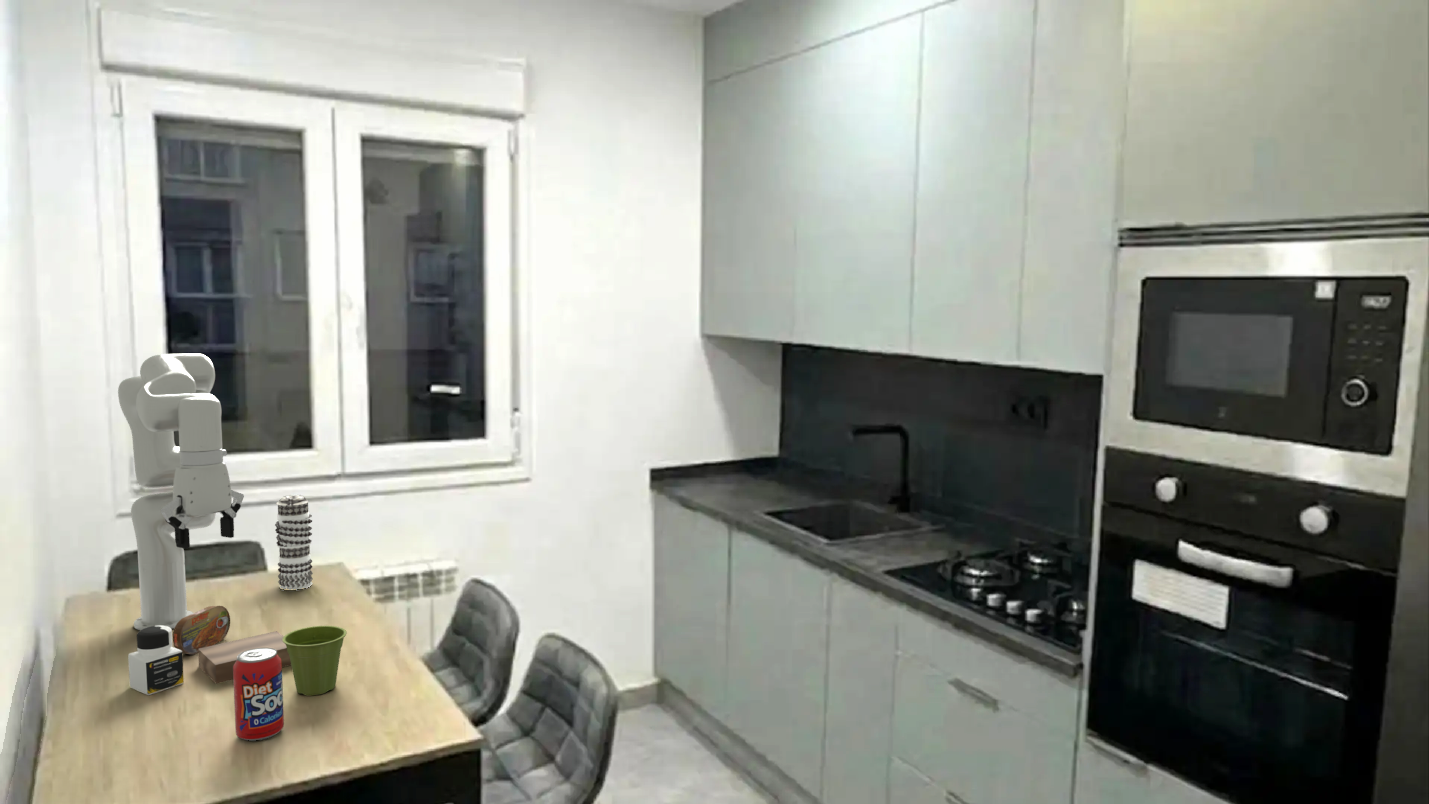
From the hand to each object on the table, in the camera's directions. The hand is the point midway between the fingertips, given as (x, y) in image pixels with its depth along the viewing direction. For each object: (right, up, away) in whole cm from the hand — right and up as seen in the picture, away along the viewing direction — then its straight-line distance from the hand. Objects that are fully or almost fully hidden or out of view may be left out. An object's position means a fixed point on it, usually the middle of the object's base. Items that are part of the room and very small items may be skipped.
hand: (205, 542), depth 187 cm
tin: (-12, -27, +21) cm, 37 cm away
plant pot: (+23, -30, 0) cm, 37 cm away
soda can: (+21, -32, -20) cm, 43 cm away
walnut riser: (+3, -28, +11) cm, 30 cm away
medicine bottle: (-10, -29, 0) cm, 31 cm away
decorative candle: (-12, -22, +66) cm, 71 cm away
